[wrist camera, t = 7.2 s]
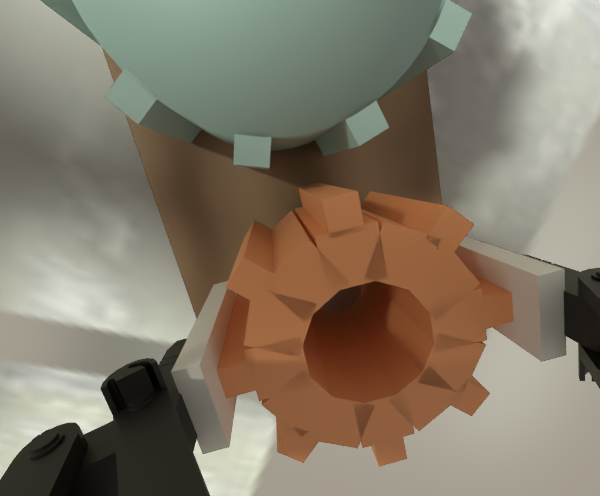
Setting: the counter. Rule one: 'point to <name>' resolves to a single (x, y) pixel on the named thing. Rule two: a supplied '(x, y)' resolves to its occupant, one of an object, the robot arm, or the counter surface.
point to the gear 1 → (265, 65)
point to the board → (277, 184)
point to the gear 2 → (358, 321)
